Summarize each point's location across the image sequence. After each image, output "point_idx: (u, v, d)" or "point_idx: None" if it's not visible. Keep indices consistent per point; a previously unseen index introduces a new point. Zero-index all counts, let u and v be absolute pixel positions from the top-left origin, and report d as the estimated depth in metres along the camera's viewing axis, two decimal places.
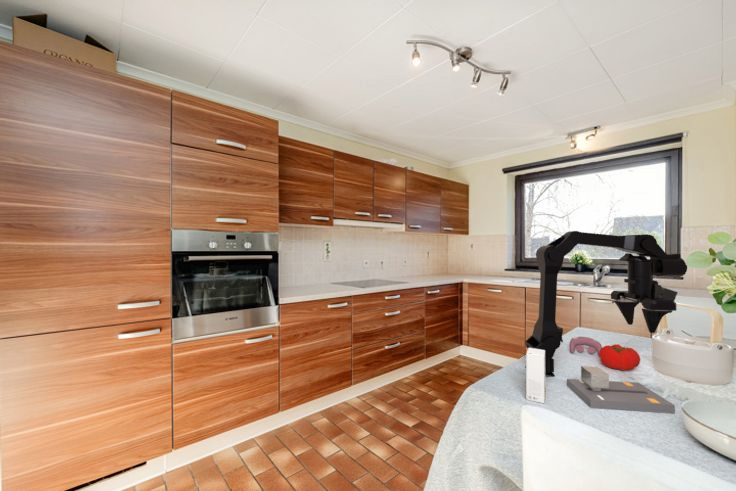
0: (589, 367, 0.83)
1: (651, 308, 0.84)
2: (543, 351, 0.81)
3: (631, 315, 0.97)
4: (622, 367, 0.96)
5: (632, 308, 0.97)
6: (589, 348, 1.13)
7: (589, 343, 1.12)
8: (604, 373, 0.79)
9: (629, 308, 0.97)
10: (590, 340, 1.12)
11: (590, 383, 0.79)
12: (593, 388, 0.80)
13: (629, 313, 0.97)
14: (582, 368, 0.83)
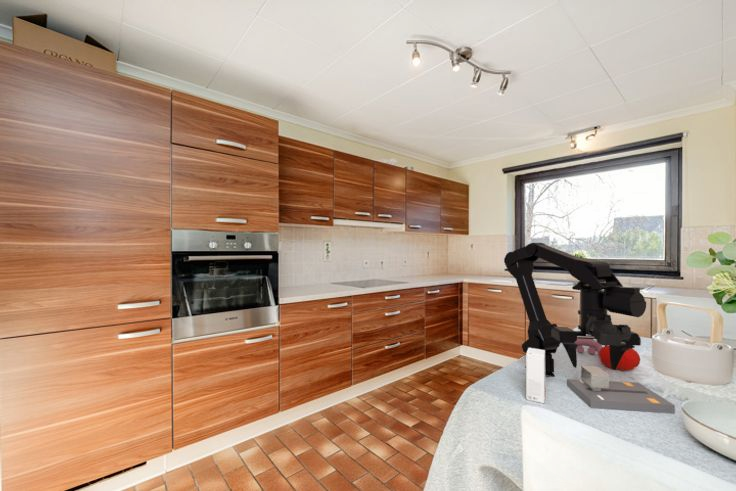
0: (589, 367, 0.83)
1: None
2: (543, 351, 0.81)
3: (614, 358, 0.80)
4: (622, 367, 0.96)
5: (617, 351, 0.79)
6: (589, 348, 1.12)
7: (589, 343, 1.12)
8: (604, 373, 0.79)
9: (614, 350, 0.80)
10: (590, 340, 1.12)
11: (590, 383, 0.79)
12: (593, 388, 0.80)
13: (613, 355, 0.80)
14: (582, 368, 0.83)
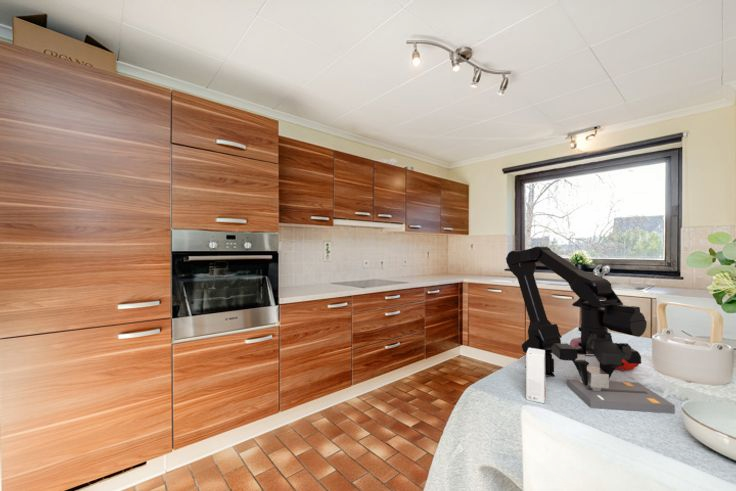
0: (589, 367, 0.83)
1: None
2: (543, 351, 0.81)
3: None
4: (622, 367, 0.96)
5: (607, 368, 0.79)
6: None
7: None
8: (604, 373, 0.79)
9: (604, 367, 0.80)
10: None
11: (590, 383, 0.79)
12: (593, 388, 0.80)
13: None
14: None
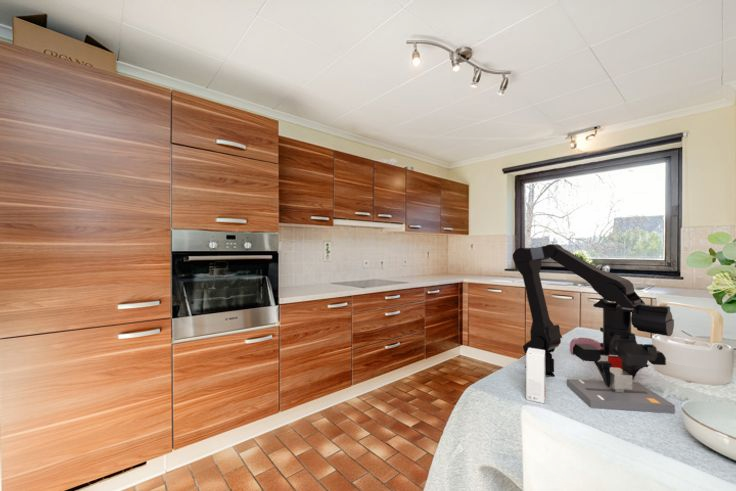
0: (611, 368, 0.82)
1: None
2: (543, 351, 0.81)
3: None
4: None
5: (630, 370, 0.79)
6: None
7: (590, 344, 1.11)
8: (627, 374, 0.78)
9: (627, 368, 0.80)
10: (591, 341, 1.11)
11: (613, 384, 0.78)
12: (616, 389, 0.79)
13: None
14: None
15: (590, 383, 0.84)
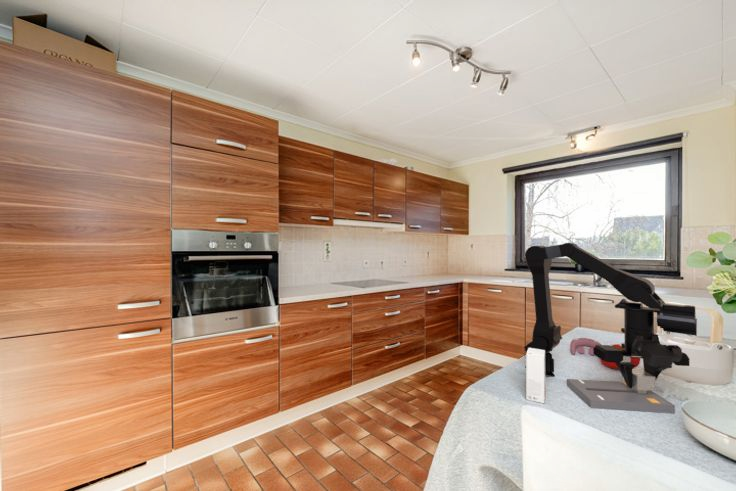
0: (633, 369, 0.81)
1: None
2: (543, 351, 0.81)
3: None
4: None
5: (653, 371, 0.78)
6: (590, 349, 1.11)
7: (590, 344, 1.11)
8: (650, 375, 0.77)
9: (650, 369, 0.79)
10: (591, 341, 1.11)
11: (636, 386, 0.77)
12: (638, 391, 0.78)
13: None
14: None
15: (590, 383, 0.84)
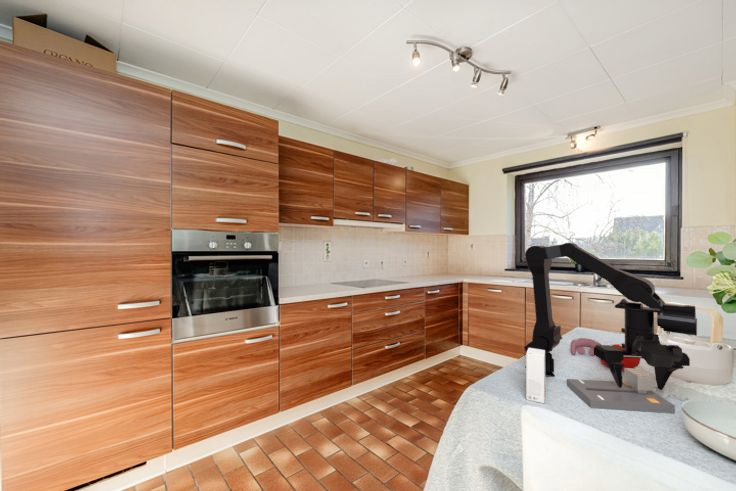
0: (633, 369, 0.81)
1: None
2: (543, 351, 0.81)
3: (661, 378, 0.78)
4: None
5: (664, 371, 0.77)
6: (590, 350, 1.11)
7: (590, 345, 1.11)
8: (650, 375, 0.77)
9: (661, 369, 0.78)
10: (591, 342, 1.11)
11: (636, 386, 0.77)
12: (638, 391, 0.78)
13: (659, 375, 0.79)
14: (626, 370, 0.81)
15: (590, 383, 0.84)
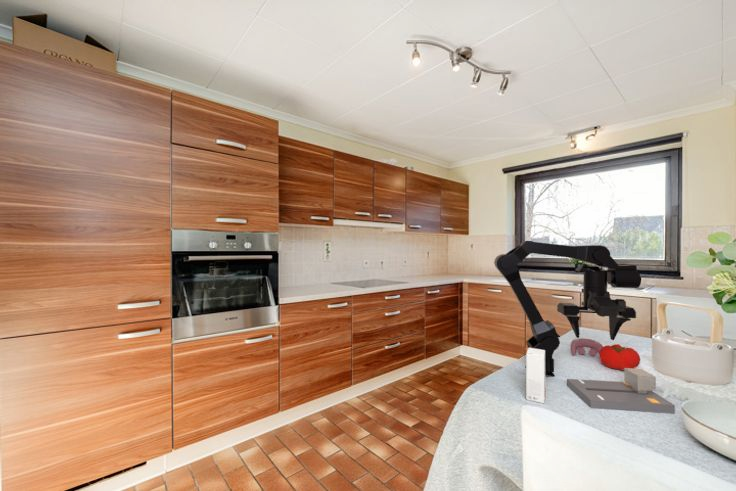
0: (633, 369, 0.81)
1: None
2: (543, 351, 0.81)
3: (612, 330, 0.91)
4: (622, 367, 0.96)
5: (615, 324, 0.91)
6: (591, 350, 1.11)
7: (591, 345, 1.10)
8: (650, 375, 0.77)
9: (613, 323, 0.92)
10: (592, 342, 1.10)
11: (636, 386, 0.77)
12: (638, 391, 0.78)
13: (612, 328, 0.92)
14: (626, 370, 0.81)
15: (590, 383, 0.84)
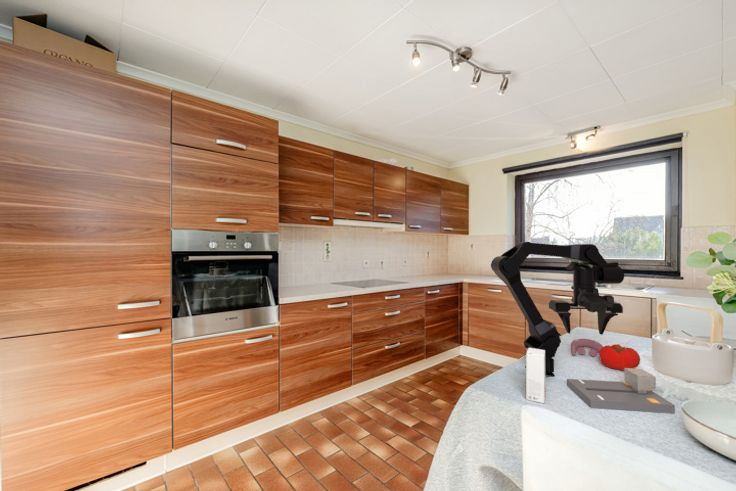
0: (633, 369, 0.81)
1: None
2: (543, 351, 0.81)
3: (601, 325, 0.96)
4: (622, 367, 0.96)
5: (604, 319, 0.95)
6: (591, 350, 1.10)
7: (591, 345, 1.10)
8: (650, 375, 0.77)
9: (601, 318, 0.96)
10: (592, 342, 1.10)
11: (636, 386, 0.77)
12: (638, 391, 0.78)
13: (600, 323, 0.96)
14: (626, 370, 0.81)
15: (590, 383, 0.84)
